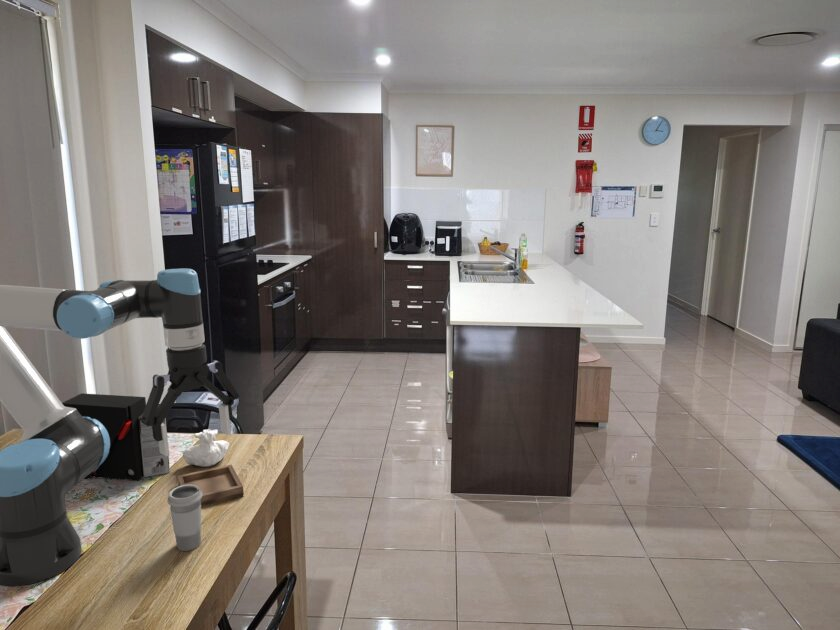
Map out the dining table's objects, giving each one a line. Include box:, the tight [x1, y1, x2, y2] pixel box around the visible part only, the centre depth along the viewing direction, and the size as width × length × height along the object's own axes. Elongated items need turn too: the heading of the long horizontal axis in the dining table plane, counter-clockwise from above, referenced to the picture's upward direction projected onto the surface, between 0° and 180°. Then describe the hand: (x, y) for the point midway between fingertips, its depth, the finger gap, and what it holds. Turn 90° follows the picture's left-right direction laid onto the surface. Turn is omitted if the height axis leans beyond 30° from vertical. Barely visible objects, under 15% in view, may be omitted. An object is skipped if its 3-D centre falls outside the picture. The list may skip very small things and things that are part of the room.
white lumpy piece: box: [182, 428, 230, 468], centre depth 158 cm, size 12×8×11 cm
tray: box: [177, 464, 245, 507], centre depth 145 cm, size 13×13×2 cm
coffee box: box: [138, 403, 171, 478], centre depth 155 cm, size 9×6×16 cm
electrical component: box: [61, 393, 147, 482], centre depth 152 cm, size 18×10×20 cm, turn 82°
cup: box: [166, 484, 203, 552], centre depth 122 cm, size 7×7×12 cm
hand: (196, 443), depth 125 cm, fingers open, 13 cm apart
